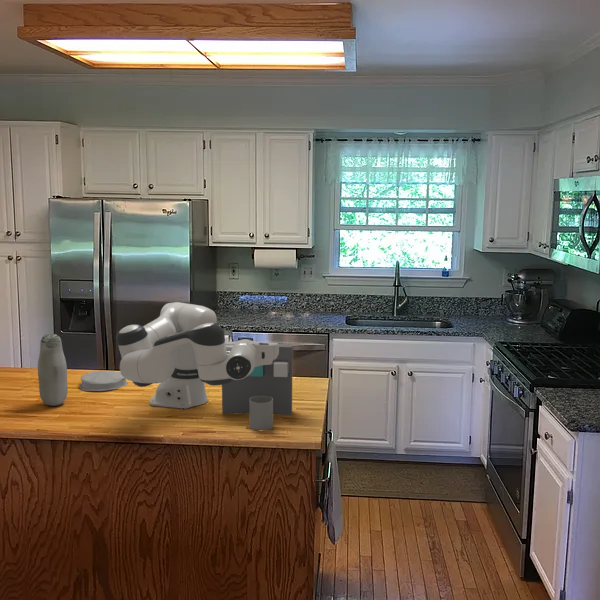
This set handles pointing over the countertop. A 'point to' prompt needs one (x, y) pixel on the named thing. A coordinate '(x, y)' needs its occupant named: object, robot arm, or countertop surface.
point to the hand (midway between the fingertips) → (250, 343)
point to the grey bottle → (52, 371)
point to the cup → (261, 412)
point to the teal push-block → (258, 371)
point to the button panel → (261, 388)
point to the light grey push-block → (280, 368)
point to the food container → (102, 381)
